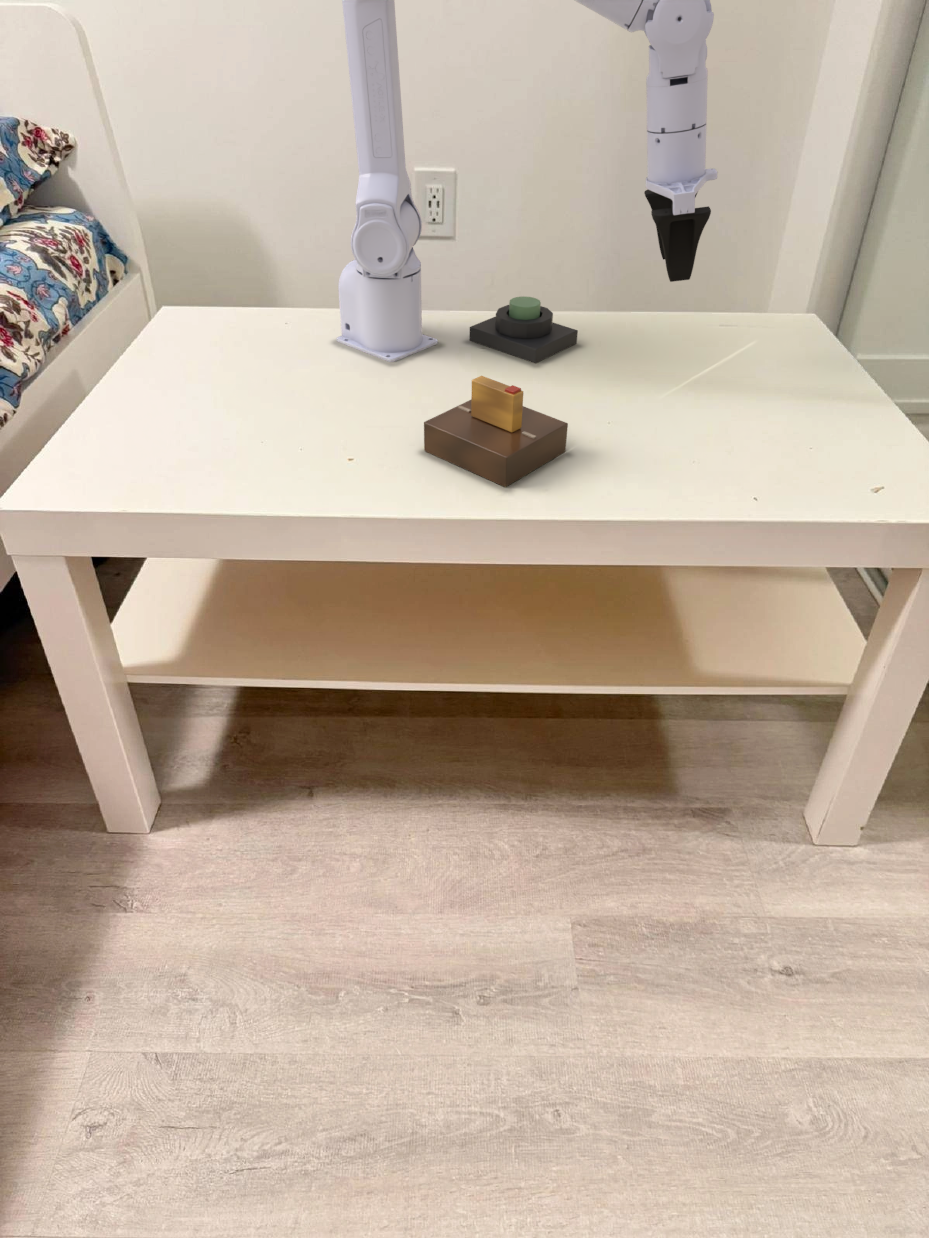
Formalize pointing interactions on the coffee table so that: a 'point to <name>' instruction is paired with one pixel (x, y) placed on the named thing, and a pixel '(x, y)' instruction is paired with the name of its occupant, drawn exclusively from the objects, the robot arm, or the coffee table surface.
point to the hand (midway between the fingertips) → (675, 268)
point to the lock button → (524, 308)
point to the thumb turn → (497, 403)
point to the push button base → (524, 335)
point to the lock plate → (495, 443)
